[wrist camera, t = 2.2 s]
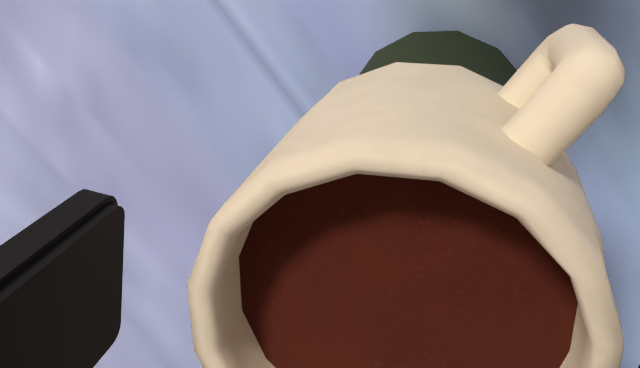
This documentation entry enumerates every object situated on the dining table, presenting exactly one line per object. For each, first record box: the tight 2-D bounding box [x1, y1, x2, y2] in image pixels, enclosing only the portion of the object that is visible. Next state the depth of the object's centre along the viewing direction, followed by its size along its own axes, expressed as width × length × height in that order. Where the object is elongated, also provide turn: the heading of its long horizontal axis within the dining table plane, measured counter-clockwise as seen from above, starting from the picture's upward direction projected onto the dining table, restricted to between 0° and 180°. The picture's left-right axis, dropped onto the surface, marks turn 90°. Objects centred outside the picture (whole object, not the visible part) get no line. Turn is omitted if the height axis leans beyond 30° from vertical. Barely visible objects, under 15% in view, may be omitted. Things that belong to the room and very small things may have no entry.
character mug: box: [187, 23, 625, 368], centre depth 16 cm, size 11×7×13 cm, turn 146°
